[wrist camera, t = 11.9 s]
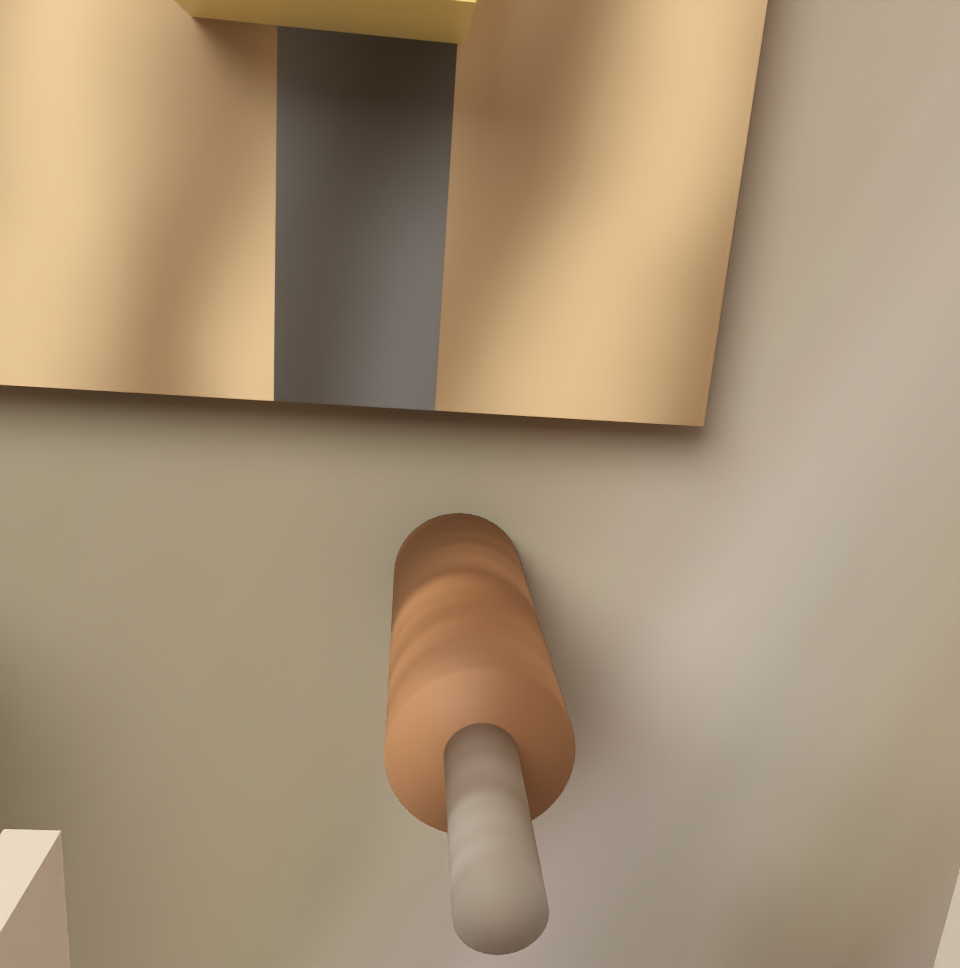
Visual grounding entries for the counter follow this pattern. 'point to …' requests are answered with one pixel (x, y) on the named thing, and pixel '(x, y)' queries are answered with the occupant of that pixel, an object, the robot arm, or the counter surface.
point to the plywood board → (375, 205)
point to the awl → (476, 722)
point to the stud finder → (349, 16)
